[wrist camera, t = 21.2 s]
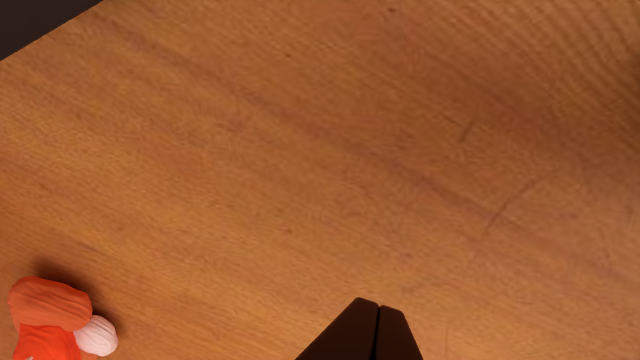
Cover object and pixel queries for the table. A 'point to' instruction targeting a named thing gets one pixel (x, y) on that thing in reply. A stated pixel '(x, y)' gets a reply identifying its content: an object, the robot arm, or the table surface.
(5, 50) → the stepped dark grey block
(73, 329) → the orange plush toy
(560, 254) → the table surface
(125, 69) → the table surface
